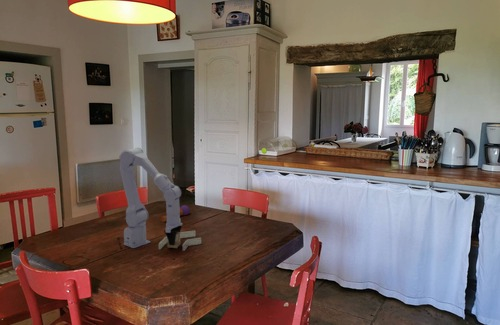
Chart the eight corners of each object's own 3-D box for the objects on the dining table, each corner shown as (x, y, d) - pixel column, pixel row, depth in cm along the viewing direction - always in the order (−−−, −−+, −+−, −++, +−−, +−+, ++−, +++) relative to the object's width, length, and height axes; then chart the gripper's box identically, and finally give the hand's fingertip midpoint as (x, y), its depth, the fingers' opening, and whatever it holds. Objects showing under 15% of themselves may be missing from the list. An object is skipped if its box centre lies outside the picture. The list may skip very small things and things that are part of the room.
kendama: (157, 214, 202) (183, 204, 218) (160, 224, 202) (185, 213, 218) (165, 214, 198) (190, 203, 214) (167, 224, 199) (192, 213, 215)
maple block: (177, 248, 161) (176, 235, 160) (167, 247, 162) (167, 234, 161) (180, 244, 165) (179, 231, 164) (170, 243, 166) (170, 231, 165)
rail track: (174, 255, 155) (173, 248, 154) (149, 246, 165) (149, 240, 164) (210, 240, 172) (210, 234, 172) (186, 233, 182) (185, 227, 182)
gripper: (176, 218, 154) (177, 249, 156) (186, 209, 168) (187, 237, 170) (160, 218, 154) (161, 248, 156) (172, 209, 169) (172, 237, 171)
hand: (173, 242), depth 163 cm, fingers closed on maple block, 4 cm apart
